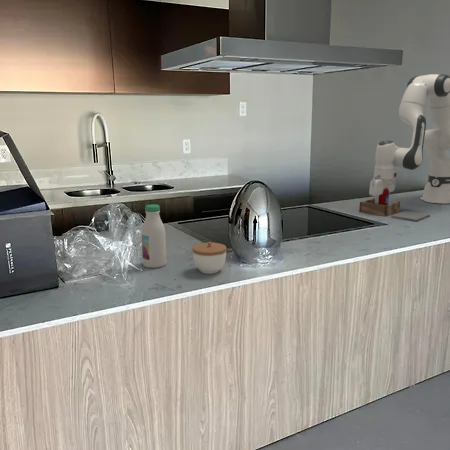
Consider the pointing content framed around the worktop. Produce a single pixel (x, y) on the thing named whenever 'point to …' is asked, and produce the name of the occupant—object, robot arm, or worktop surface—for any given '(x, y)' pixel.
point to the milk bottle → (153, 238)
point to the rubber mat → (410, 216)
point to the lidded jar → (209, 257)
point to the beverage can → (384, 197)
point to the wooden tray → (379, 208)
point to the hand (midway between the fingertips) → (381, 202)
